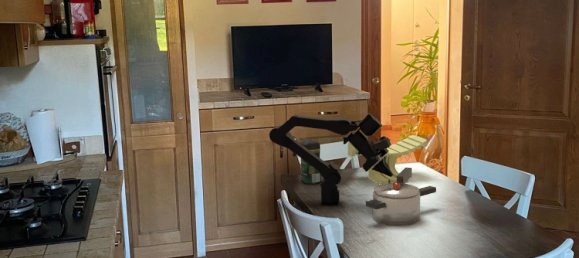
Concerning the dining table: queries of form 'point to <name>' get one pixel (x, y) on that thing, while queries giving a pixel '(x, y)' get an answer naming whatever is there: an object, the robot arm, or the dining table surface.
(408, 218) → the pressure cooker pot
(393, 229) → the dining table surface
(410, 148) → the slatted curved stool
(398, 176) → the pressure cooker lid
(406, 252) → the dining table surface
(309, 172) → the coffee jar
